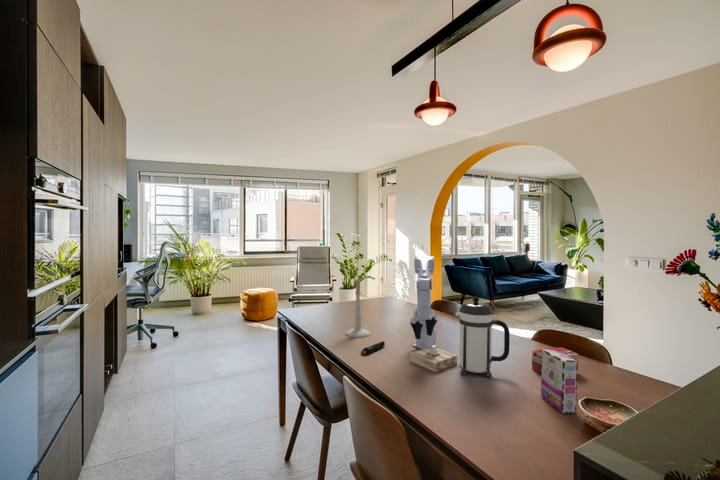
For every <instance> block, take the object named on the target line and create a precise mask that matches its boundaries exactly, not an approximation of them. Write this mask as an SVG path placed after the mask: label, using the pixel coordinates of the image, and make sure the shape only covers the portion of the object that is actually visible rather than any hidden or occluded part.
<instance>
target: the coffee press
mask: <svg viewBox="0 0 720 480" xmlns="http://www.w3.org/2000/svg"><path fill="white" fill-rule="evenodd" d="M472 300H473V301H465V302H463V303H462V304H461V305H460V307H459V308H458V311H457V312H456V313H455V316H457V317H458V316H459V321H458V322H459V366H460V367H461V371H460V374H461V375H462V376H467V373H469V372H471V373H476V374H484V375H485V376H486V378H488V379H489V378H492V377H493V375H492V372H491V368H492V362H502V361H505V360H506V359H507V358H508V356H509V353H510V329H509V327H508V324H507V323H505V322H504V321H503V320H499V319H495V320H494V319H493V314H494V310H492V306H490V305H489V304H488V303H485V302H482V301H480V302H479V300H480V298H479V297H478V296H474V297H472ZM493 325H497V326H500V327H502V329H503V330H504V334H503V335H504V338H503V339H504V341H503V342H504V344H503V345H504V346H503V347H504V348H503V353H502V354H501V355H499V356H497V355H495V356H494V355H492V339H493V338H492V333H493V332H492V329H493V328H492V327H493Z"/></svg>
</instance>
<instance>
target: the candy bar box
mask: <svg viewBox="0 0 720 480" xmlns="http://www.w3.org/2000/svg"><path fill="white" fill-rule="evenodd" d="M577 368H578V369H579V360H578V361H577V360H575V359H573V358H571V357H569V356H567V355H565V354H563V353H561V352H559V351H557V350H555V349H550V348H543V350H542V373H541V387H540V397H541V396H542V397H543V398H544V399H543V398H542V397H541V398H542V399H543V400H545V399H546V400H547V401H548V402H549V404H550V403H551V404H552V405H553V406H552V405H551V404H550V405H551V406H552V407H553V408H555V407H556V408H557V409H558V410H557V409H556V408H555V409H556V410H557V411H559V412H560V411H561V412H562V413H561V412H560V413H561V414H573V413H572V412H576V413H577V403H578V402H577V401H578V400H577V397H578V396H577V395H578V394H577V393H578V371H577ZM546 400H545V401H546ZM547 401H546V402H547ZM548 402H547V403H548ZM568 412H569V413H568Z"/></svg>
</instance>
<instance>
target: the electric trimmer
mask: <svg viewBox="0 0 720 480" xmlns="http://www.w3.org/2000/svg"><path fill="white" fill-rule="evenodd" d="M385 345H386V344H385V340H382V341H380V342H377V343H375V344H373V345H370V346H367V347H364V348H363V349H362V350H361V352H360V355H362V356H368V355H369V354H371V353H373V352H375V351H378V352H379V350H381V349H382V348H384V347H385Z"/></svg>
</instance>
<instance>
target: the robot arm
mask: <svg viewBox="0 0 720 480" xmlns="http://www.w3.org/2000/svg"><path fill="white" fill-rule="evenodd" d="M413 263H414V265H413V266H414V272H415V274H417V280H416V296H417V297H416V298H417V301H416V302H417V303H416V309H415V310H414V311H413V317H411V318H410V322H409V323H410V326H411V328H412V330H413V333H414V337H415V343H413V344H411V345H412V347H415V348H418V349H419V350H421V349H425V348H428V347H429V345H436V346H437V347H438V344H437V343H436V339H437V337H436V336H437V335H436V334H437V332H436V330H435V326H436V325H437V323H438V319H437V313H434V310H432V307H431V306H432V304H431V303H432V301H431V300H432V291H433V280H432V277H431V275H433V274H434V272H435V257H434V255H432V256H429V255H427V256H424V255H423V256H422V255H420V256H419V255H415V256H414V262H413Z"/></svg>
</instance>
